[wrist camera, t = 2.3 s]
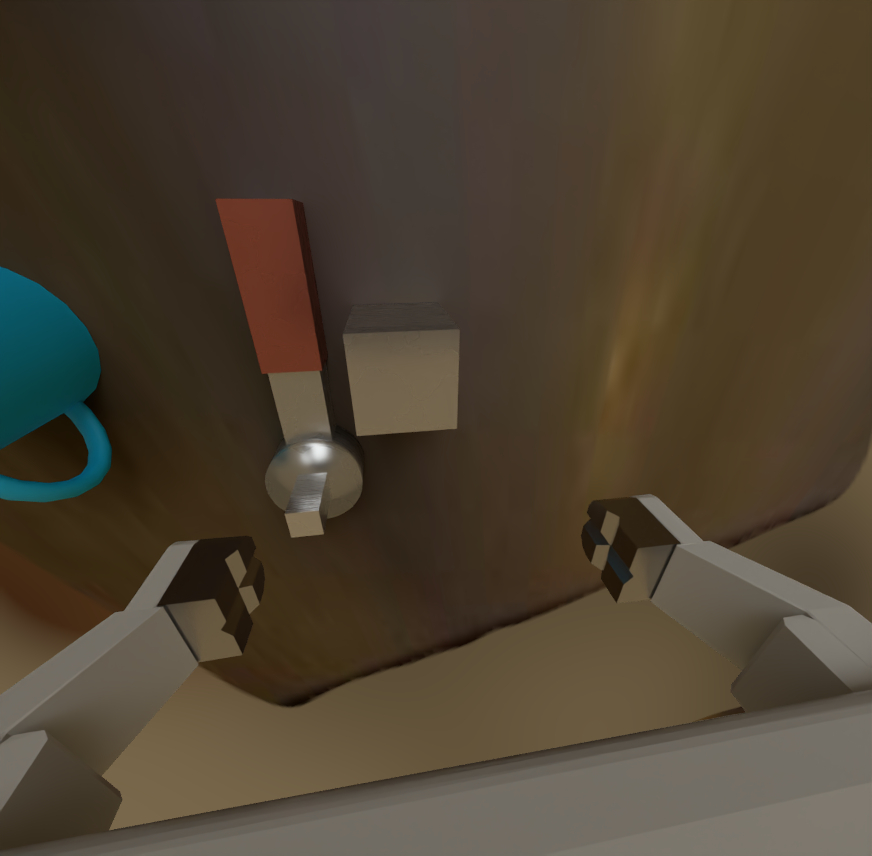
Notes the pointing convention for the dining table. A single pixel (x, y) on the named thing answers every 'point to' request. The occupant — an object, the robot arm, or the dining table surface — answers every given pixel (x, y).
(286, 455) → the ratchet
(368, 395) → the brushed steel block
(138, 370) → the dining table surface
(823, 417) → the dining table surface
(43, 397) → the mug
